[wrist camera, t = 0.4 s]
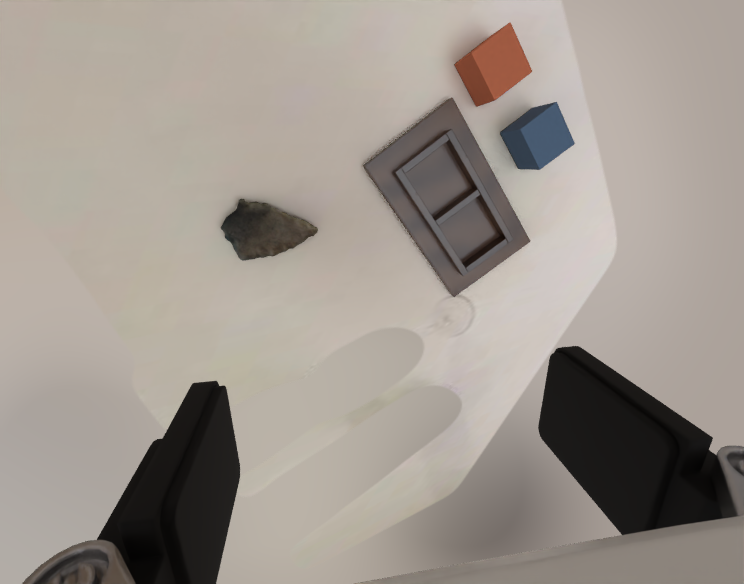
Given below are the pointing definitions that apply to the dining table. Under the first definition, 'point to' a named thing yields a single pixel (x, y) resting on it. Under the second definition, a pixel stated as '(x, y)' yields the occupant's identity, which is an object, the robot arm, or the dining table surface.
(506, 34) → the orange-brown block
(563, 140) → the blue block
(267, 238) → the arrowhead
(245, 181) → the dining table surface
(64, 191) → the dining table surface
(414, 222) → the dark brown flat tray
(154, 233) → the dining table surface
